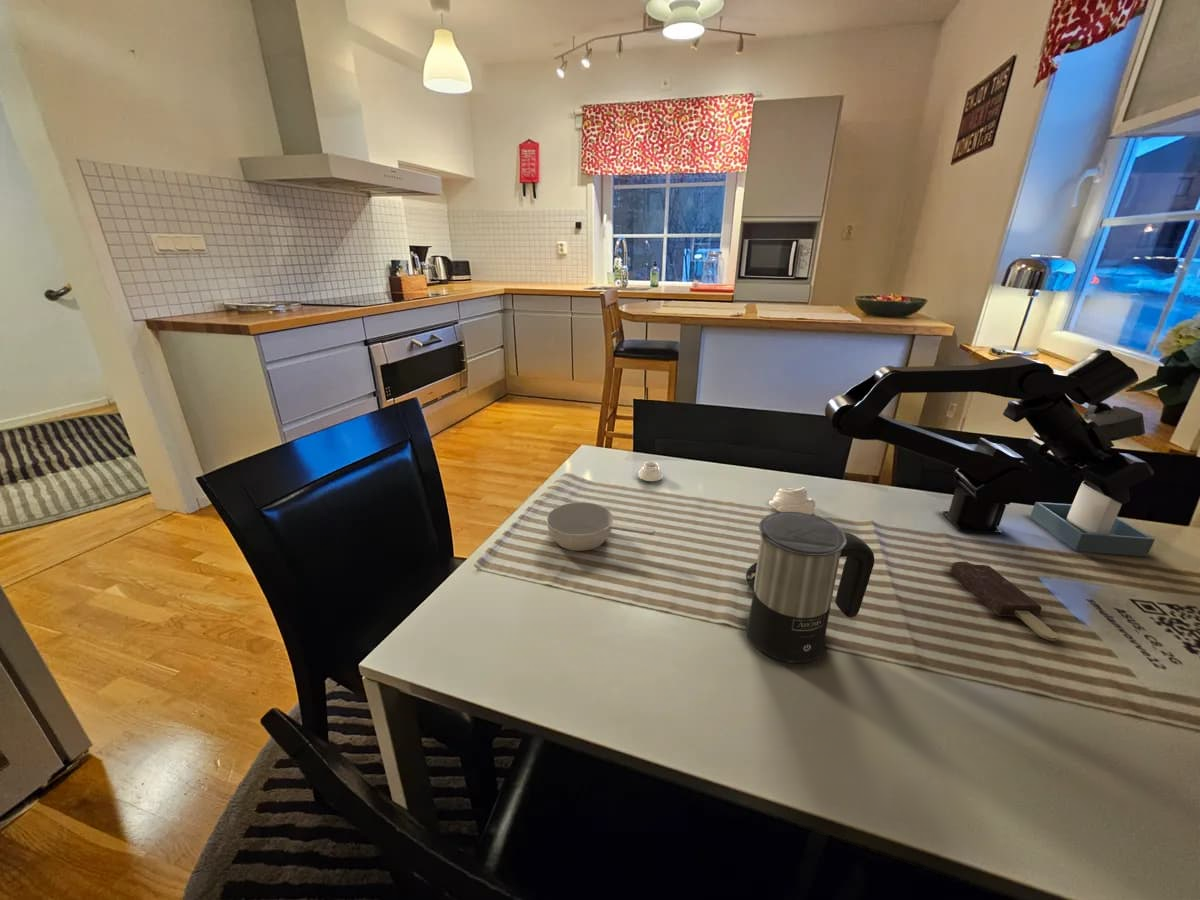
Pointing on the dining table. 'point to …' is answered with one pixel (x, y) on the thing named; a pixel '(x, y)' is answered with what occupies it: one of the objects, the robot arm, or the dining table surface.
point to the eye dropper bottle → (1093, 511)
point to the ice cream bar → (1000, 595)
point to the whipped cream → (793, 501)
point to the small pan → (584, 526)
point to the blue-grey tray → (1116, 542)
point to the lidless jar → (650, 472)
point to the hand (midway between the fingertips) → (1111, 493)
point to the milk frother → (802, 583)
